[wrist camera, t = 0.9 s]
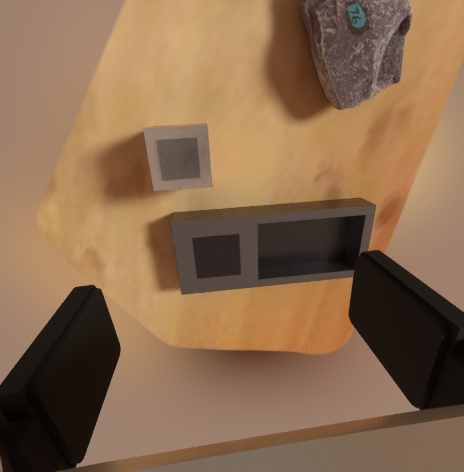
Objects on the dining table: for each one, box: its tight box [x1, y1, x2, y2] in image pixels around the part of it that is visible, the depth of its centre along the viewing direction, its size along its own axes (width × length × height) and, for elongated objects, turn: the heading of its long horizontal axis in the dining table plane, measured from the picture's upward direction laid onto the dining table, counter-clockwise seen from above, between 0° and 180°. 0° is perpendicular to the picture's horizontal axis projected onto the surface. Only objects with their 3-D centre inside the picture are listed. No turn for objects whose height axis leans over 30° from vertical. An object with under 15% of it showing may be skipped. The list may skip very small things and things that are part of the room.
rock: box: [300, 0, 412, 110], centre depth 22 cm, size 8×11×5 cm
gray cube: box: [143, 123, 212, 191], centre depth 24 cm, size 5×5×6 cm
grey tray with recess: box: [170, 198, 376, 295], centre depth 31 cm, size 9×22×3 cm, turn 93°
